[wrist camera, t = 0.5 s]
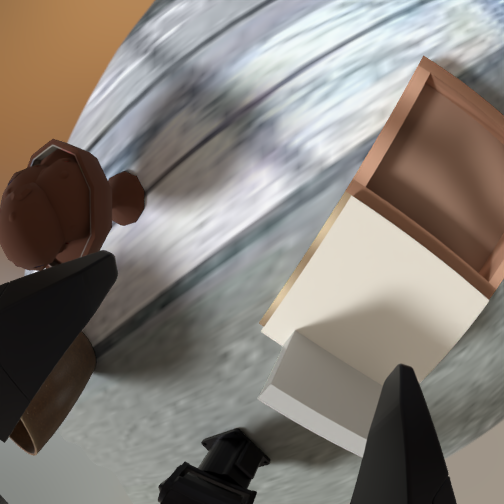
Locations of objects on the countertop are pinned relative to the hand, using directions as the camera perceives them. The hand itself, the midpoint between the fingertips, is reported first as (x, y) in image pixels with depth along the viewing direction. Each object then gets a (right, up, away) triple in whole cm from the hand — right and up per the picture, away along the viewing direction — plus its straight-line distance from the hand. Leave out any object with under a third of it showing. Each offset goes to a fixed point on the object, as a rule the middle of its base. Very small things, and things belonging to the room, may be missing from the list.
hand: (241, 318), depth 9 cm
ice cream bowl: (-13, +7, +21) cm, 26 cm away
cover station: (+13, +3, +14) cm, 19 cm away
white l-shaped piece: (+9, -3, +13) cm, 16 cm away
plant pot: (-24, -12, +29) cm, 40 cm away
